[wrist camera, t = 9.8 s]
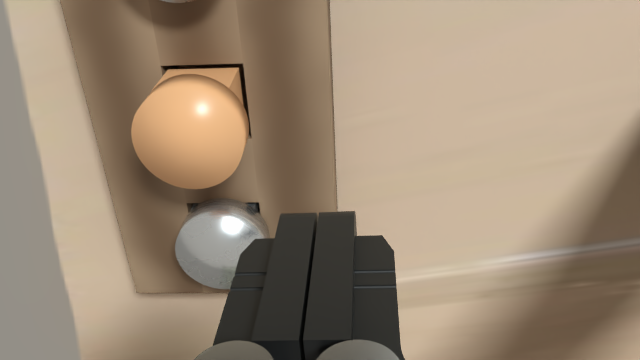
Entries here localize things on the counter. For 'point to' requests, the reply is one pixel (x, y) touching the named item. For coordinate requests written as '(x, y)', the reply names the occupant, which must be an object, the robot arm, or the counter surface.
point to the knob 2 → (218, 239)
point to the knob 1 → (177, 1)
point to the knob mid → (192, 127)
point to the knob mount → (258, 100)
